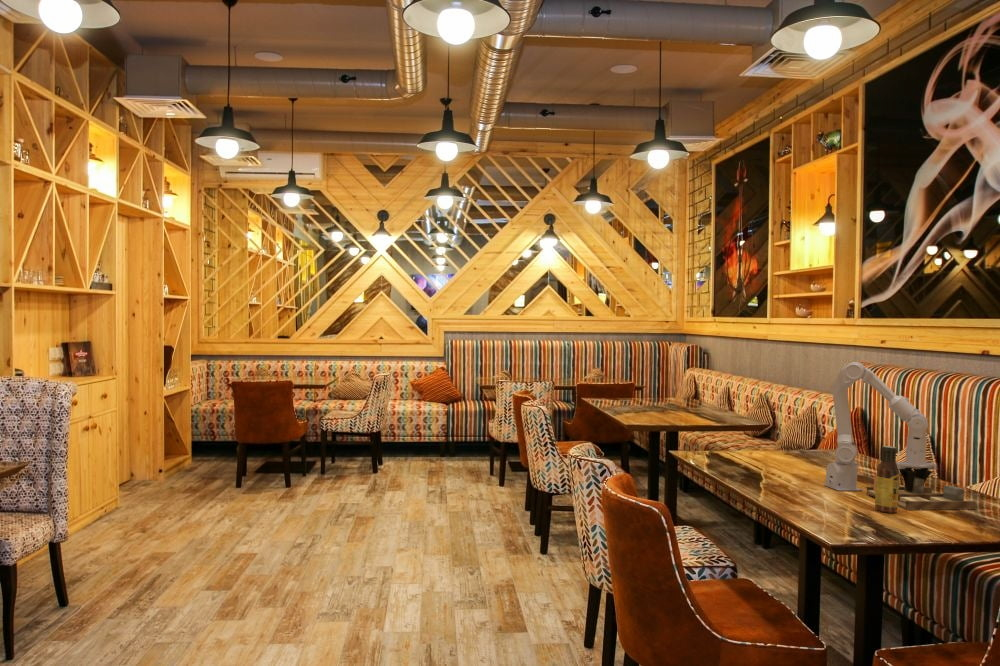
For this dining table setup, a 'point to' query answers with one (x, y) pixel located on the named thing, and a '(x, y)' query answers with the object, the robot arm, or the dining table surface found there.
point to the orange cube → (874, 484)
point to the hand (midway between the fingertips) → (913, 490)
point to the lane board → (934, 499)
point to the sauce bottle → (887, 481)
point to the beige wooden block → (917, 489)
